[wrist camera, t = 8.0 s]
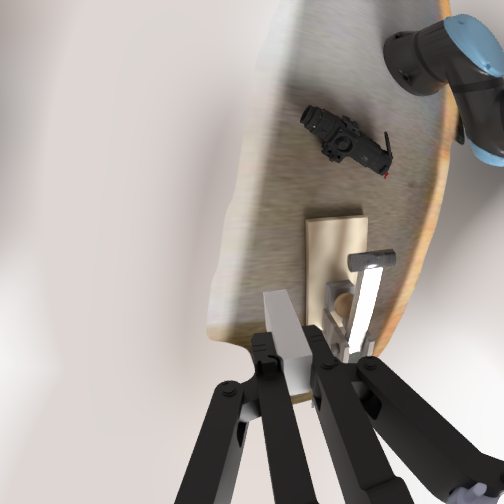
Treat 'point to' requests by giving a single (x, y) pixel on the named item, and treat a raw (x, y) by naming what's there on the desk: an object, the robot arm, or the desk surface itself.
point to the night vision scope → (346, 140)
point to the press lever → (365, 291)
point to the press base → (334, 277)
